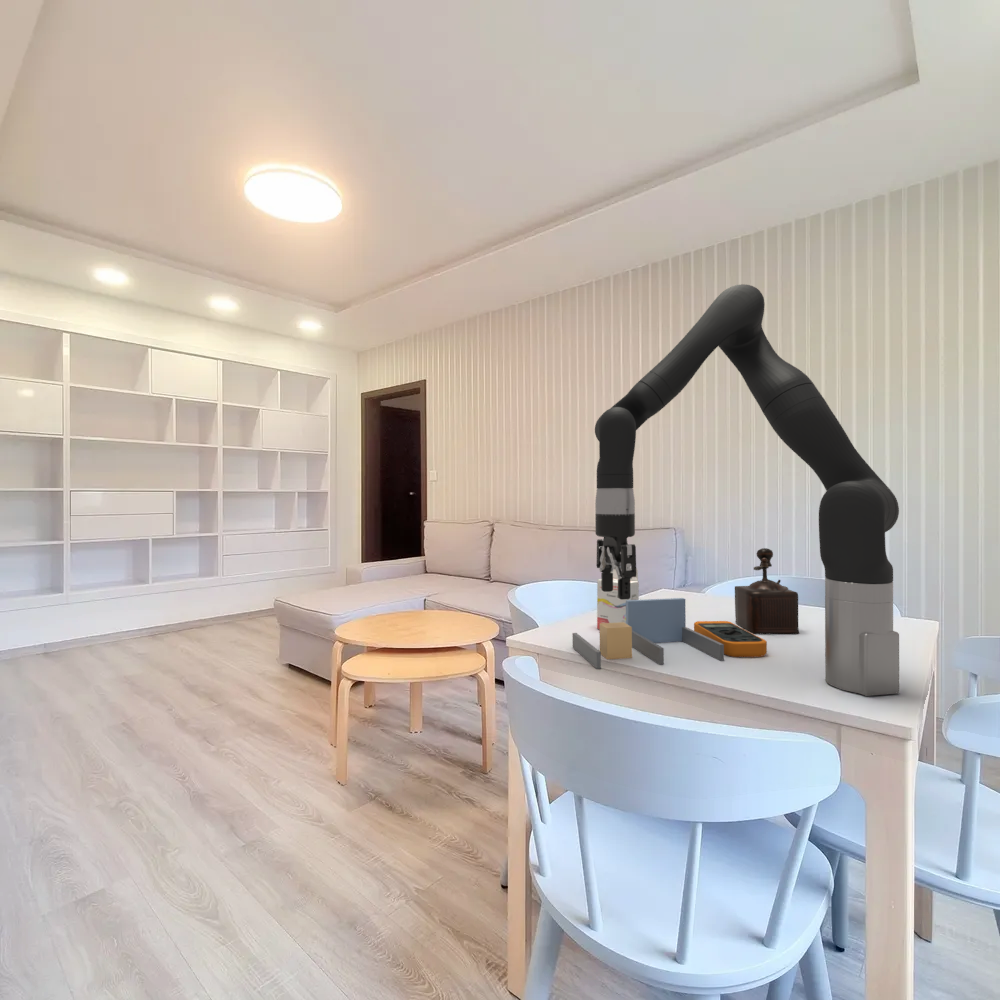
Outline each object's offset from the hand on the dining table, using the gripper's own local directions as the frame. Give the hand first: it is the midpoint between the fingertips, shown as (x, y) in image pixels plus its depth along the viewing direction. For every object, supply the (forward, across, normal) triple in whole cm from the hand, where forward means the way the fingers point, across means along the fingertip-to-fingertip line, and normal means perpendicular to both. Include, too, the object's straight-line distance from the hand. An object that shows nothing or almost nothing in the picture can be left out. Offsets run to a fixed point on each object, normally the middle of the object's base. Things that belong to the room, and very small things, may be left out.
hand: (615, 594), depth 105 cm
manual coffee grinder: (+12, +16, -43) cm, 47 cm away
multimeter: (+12, +2, -26) cm, 29 cm away
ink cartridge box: (+12, +18, -8) cm, 23 cm away
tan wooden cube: (+12, 0, 0) cm, 12 cm away
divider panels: (+12, 0, -6) cm, 13 cm away
